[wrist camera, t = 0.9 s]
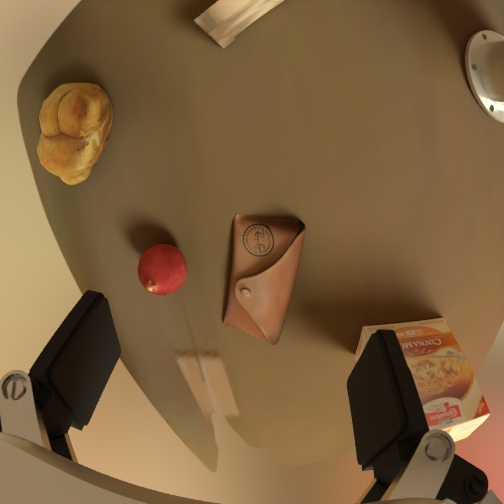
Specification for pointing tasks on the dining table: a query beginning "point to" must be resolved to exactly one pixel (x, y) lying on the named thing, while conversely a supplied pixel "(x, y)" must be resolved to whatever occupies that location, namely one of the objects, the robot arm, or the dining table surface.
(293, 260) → the sunglasses case
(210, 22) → the strip
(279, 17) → the dining table surface
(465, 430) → the coffeecake box
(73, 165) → the bread roll
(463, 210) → the dining table surface
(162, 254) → the red round fruit
